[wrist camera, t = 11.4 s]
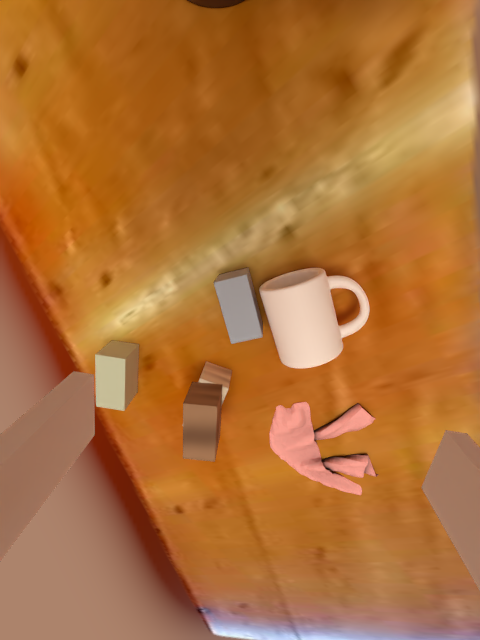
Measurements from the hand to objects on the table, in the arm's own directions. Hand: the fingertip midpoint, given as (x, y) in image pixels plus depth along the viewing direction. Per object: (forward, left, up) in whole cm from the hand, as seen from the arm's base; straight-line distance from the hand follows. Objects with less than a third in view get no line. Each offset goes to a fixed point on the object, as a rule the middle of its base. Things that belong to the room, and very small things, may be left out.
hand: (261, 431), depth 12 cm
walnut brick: (+18, -5, -27) cm, 33 cm away
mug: (+3, +7, -32) cm, 33 cm away
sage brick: (+17, -18, -32) cm, 40 cm away
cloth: (+25, +16, -33) cm, 44 cm away
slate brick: (+4, -2, -32) cm, 32 cm away
